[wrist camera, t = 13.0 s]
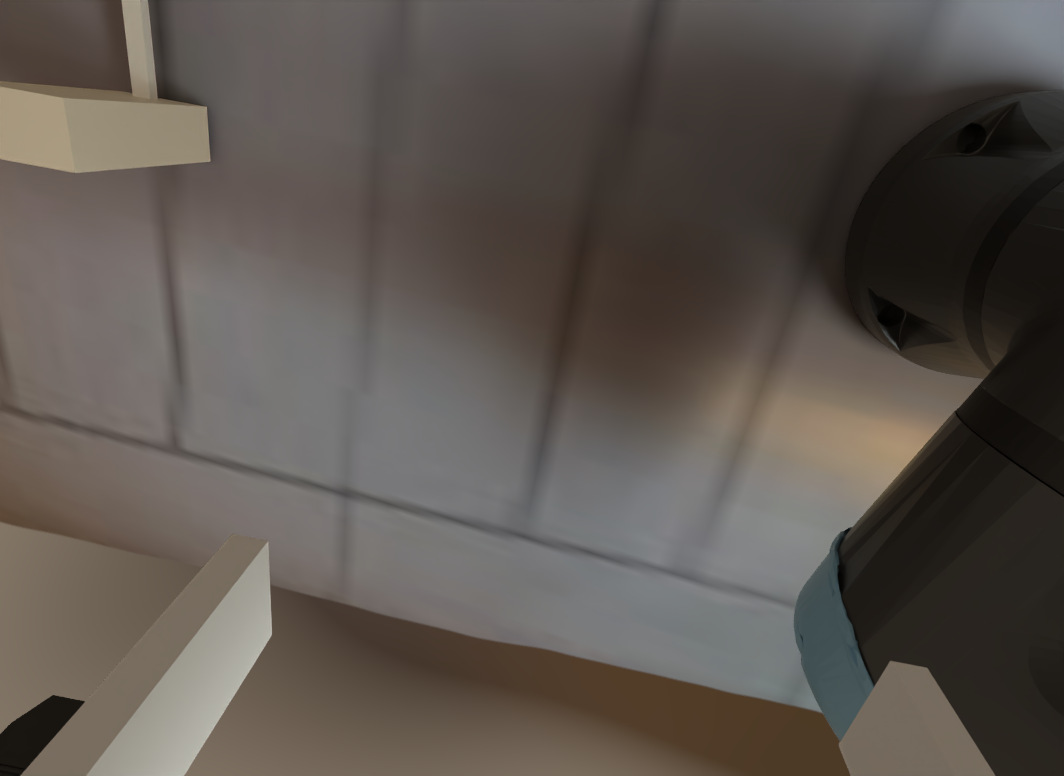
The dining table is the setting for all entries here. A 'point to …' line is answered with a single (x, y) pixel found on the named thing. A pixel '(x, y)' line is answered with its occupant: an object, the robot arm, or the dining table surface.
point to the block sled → (103, 118)
